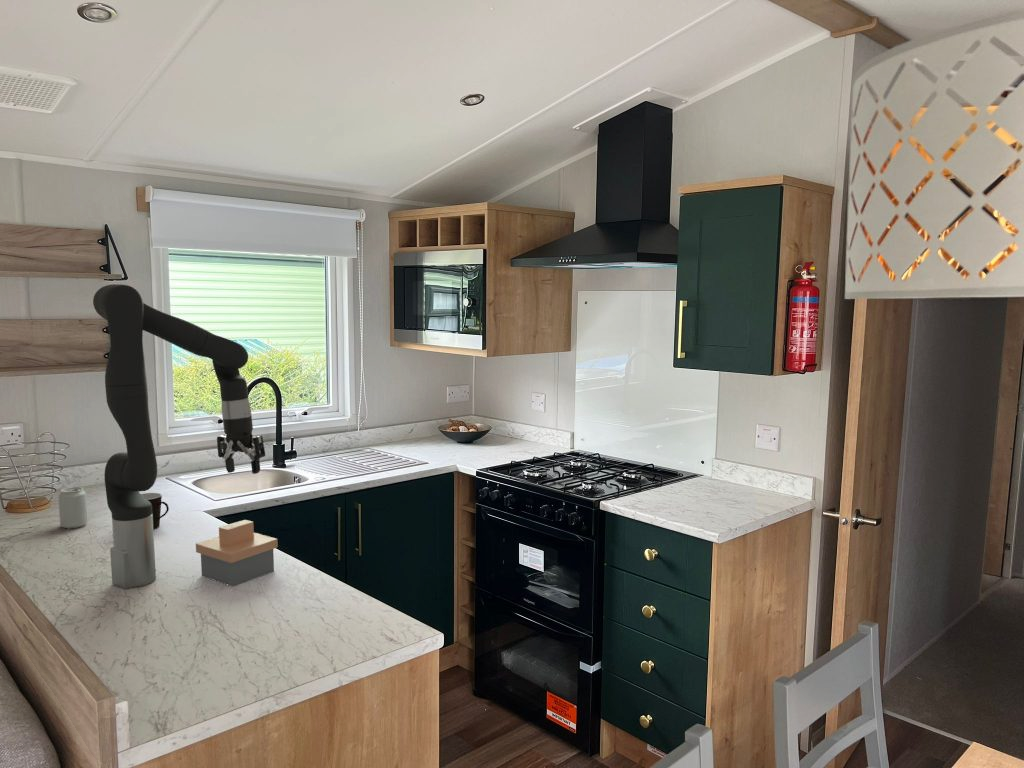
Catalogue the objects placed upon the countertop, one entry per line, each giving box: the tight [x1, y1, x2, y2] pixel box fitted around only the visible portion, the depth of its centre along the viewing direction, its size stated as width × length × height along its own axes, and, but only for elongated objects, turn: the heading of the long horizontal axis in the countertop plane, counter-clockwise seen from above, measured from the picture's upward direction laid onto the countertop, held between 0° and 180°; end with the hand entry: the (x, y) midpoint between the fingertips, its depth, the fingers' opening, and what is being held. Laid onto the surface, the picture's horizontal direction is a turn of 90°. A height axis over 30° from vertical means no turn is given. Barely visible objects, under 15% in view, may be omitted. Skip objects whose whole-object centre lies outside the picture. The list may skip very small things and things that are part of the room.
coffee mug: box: [140, 492, 170, 530], centre depth 238 cm, size 12×9×10 cm
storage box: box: [200, 549, 275, 587], centre depth 200 cm, size 13×13×8 cm
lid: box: [195, 519, 279, 563], centre depth 200 cm, size 14×14×7 cm
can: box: [57, 486, 89, 530], centre depth 240 cm, size 8×8×12 cm
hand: (243, 472), depth 212 cm, fingers open, 8 cm apart
